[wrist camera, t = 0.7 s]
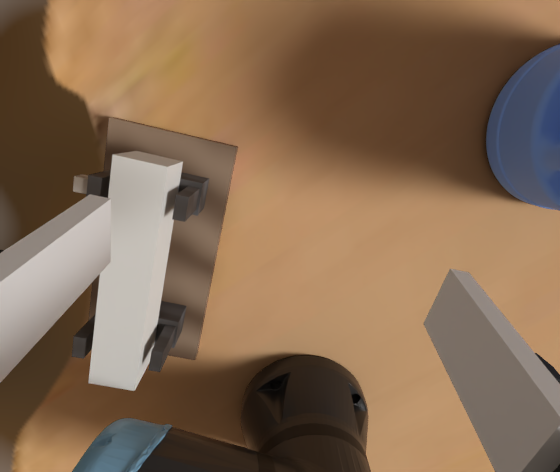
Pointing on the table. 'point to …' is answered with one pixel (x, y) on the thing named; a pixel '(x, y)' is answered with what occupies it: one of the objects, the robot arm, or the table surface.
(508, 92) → the water jug
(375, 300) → the table surface
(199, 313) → the cable cradle
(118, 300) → the white slab
